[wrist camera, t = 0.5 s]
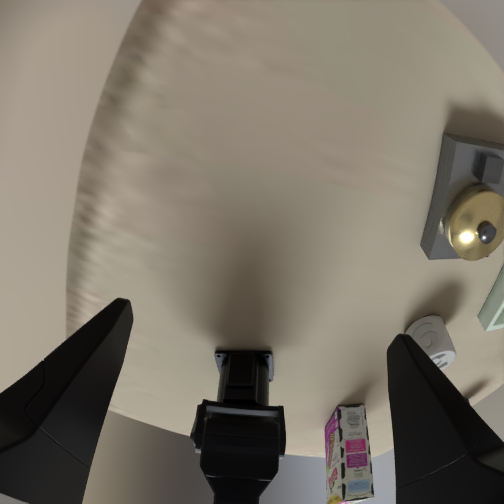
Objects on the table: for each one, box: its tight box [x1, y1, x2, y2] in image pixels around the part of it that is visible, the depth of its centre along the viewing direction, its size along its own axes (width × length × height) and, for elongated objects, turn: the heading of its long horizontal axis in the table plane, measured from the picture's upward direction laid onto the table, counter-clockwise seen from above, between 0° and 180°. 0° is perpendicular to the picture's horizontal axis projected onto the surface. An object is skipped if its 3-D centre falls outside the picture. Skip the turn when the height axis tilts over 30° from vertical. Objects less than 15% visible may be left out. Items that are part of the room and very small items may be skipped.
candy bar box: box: [325, 404, 374, 504], centre depth 38 cm, size 11×5×16 cm, turn 1°
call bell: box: [420, 134, 504, 261], centre depth 18 cm, size 10×7×4 cm
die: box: [405, 315, 457, 370], centre depth 28 cm, size 5×5×5 cm
